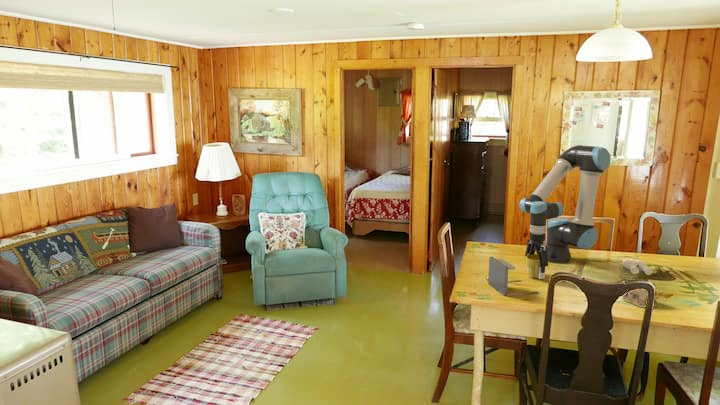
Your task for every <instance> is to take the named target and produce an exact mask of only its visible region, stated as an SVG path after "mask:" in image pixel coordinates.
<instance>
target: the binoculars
mask: <svg viewBox="0 0 720 405" xmlns="http://www.w3.org/2000/svg"><path fill="white" fill-rule="evenodd" d="M622 263H623V266H624V267H625V269H626V270H627V271H629V272H630V273H631V274H632V275H637V274H638V275H639V273H640V272H643V273H644V274H645V275H646V276H650V275H652V274H653V272H654V270H653V268H652V267H650V266H648V265H647V263H645V262H644V261H643V260H640V259H635V258H631V259H625V258H624V259H623V260H622Z"/></svg>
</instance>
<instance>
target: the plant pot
mask: <svg viewBox="0 0 720 405" xmlns="http://www.w3.org/2000/svg"><path fill="white" fill-rule="evenodd" d="M525 264H526V267H528V271H527V273H528V276H529V277H531V278H539V266H540V261H539V258H538V254H537V253H534V255H527V256H525Z"/></svg>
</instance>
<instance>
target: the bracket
mask: <svg viewBox="0 0 720 405" xmlns="http://www.w3.org/2000/svg"><path fill="white" fill-rule="evenodd" d="M488 259H489V261H488V277H487V278H488V280H487V281H488V282H487V283H488V285H489V286H490V287H492V288H493V289H494V290H495V291H496V292H498V293H499V294H500V295H502V296H503V297H514V296H515V297H516V296H523V295H534V294H535V295H536V294H540V292H539V291H531V292H530V291H529V292H520V293H511V294H510V293H509V294H508V284H509V283H517V282H522V280H520V279H516V280H509V271H511V270H512V271H513V270H516V266H514V265H512V264H511V263H510V262H508V261H507V260H505V259H504V258H495V257H494V256H489V258H488Z"/></svg>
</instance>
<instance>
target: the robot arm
mask: <svg viewBox="0 0 720 405" xmlns="http://www.w3.org/2000/svg"><path fill="white" fill-rule="evenodd" d="M609 166H611V154H610V152H609V150H608V149H607V148H605V147H604V146H603V147H602V146H598V145H597V146H591V145H589V146H588V145H582V144H581V145H579V144H578V145H574V146H571V147H569V148H568V149H566V150H565V151H564V152H562V153H561V154H560V155H559V156H558V157H557V158H556V160H555V164H554V166H553V167H552V168H551V170H549V171H548V173H547V174H546V176H545V177H544V178H543V180H542V181H541V182H540V183H539V185H537V187H536V188H535V190H534V191H533V192H532V193H531V194H530V196H529V197H523V198H522V199H521V200H520V201H519V206H518V207H519V210H520V211H522V212H523V213H525V214H529V216H530V218H529V219H530V220H529V235H528V236H529V238H528V239H527V244H526V250H525V254H524V256H525V257H526V256H527V255H534V254H538V258H539V261H540V266H539V277H538V279H539V280H541V279H542V280H543V279H545V275H546V274H545V272H546V267H549V262H550V263H554V264H566V263H571V261H572V255H571V251H570V247H569V246H571V247H572V246H573V247H576V248H579V249H584V250H588V249H589V250H590V248H592V247H593V246H594V245H595V243H596V242H597V240H598V236H599V233H598V230H597V229H596V228H595V223H594V222H593V218H594V210H595V205H596V199H597V194H598V188H599V183H600V182H599V181H600V177H601V176H602V175H603V174H604V171H606V170H608V169H609ZM574 168H579V170H578V171H579V173H580V174H581V177H580V182H579V189H578V195H577V196H578V197H577V200H576V202H577V203H576V208H575V214H574V218H573V219H572V220H570V219H568V218H559V217H561V216H563V214H564V210H565V208H564V206H563V204H562V203H560V202H558V201H557V202H547V201H546V200H547V199H548V198H549V196H550V195H551V194H552V193H553V191H554V190H555V188H557V186H558V185H559V184H560V182H562V180H563V179H564V178H565V176H566V175H567V174H568V173H570V172H571V171H572V170H573V169H574ZM547 220H549V221H547ZM546 225H547V226H546ZM546 232H547V233H546ZM545 241H546V244H545V245H544V242H545ZM526 267H527V266H526ZM526 270H527V272H528V267H527V268H526Z"/></svg>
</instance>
